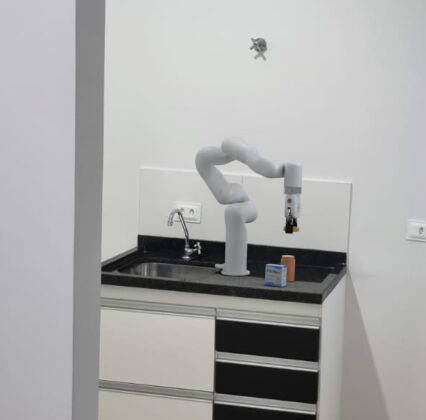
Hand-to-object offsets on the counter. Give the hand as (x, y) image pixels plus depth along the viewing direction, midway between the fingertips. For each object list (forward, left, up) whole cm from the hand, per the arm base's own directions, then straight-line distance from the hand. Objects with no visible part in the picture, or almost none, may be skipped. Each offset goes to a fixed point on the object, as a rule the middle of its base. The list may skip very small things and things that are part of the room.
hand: (291, 232), depth 368 cm
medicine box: (-5, -12, -21) cm, 25 cm away
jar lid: (0, 0, +2) cm, 2 cm away
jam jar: (-1, +2, -21) cm, 21 cm away
